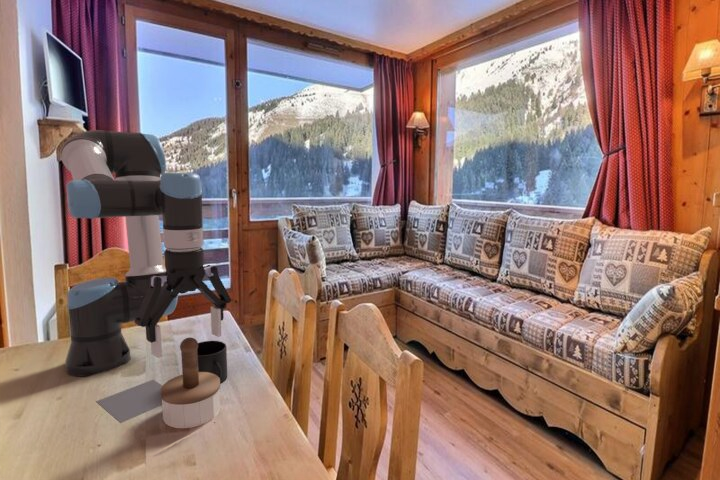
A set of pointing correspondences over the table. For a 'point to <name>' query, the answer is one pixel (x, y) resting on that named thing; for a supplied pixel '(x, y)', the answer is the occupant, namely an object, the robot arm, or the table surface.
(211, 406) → the bowl
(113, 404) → the mat
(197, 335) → the table surface
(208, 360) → the mug
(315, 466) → the table surface
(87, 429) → the table surface
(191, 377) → the lid
